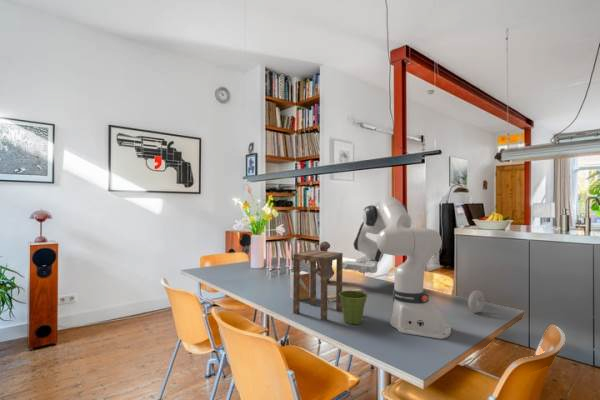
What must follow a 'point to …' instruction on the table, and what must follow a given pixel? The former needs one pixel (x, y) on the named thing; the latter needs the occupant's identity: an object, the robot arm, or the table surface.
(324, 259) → the stool
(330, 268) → the clay figurine
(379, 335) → the table surface
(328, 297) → the slat
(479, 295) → the donut
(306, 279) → the small box
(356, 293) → the plant pot
